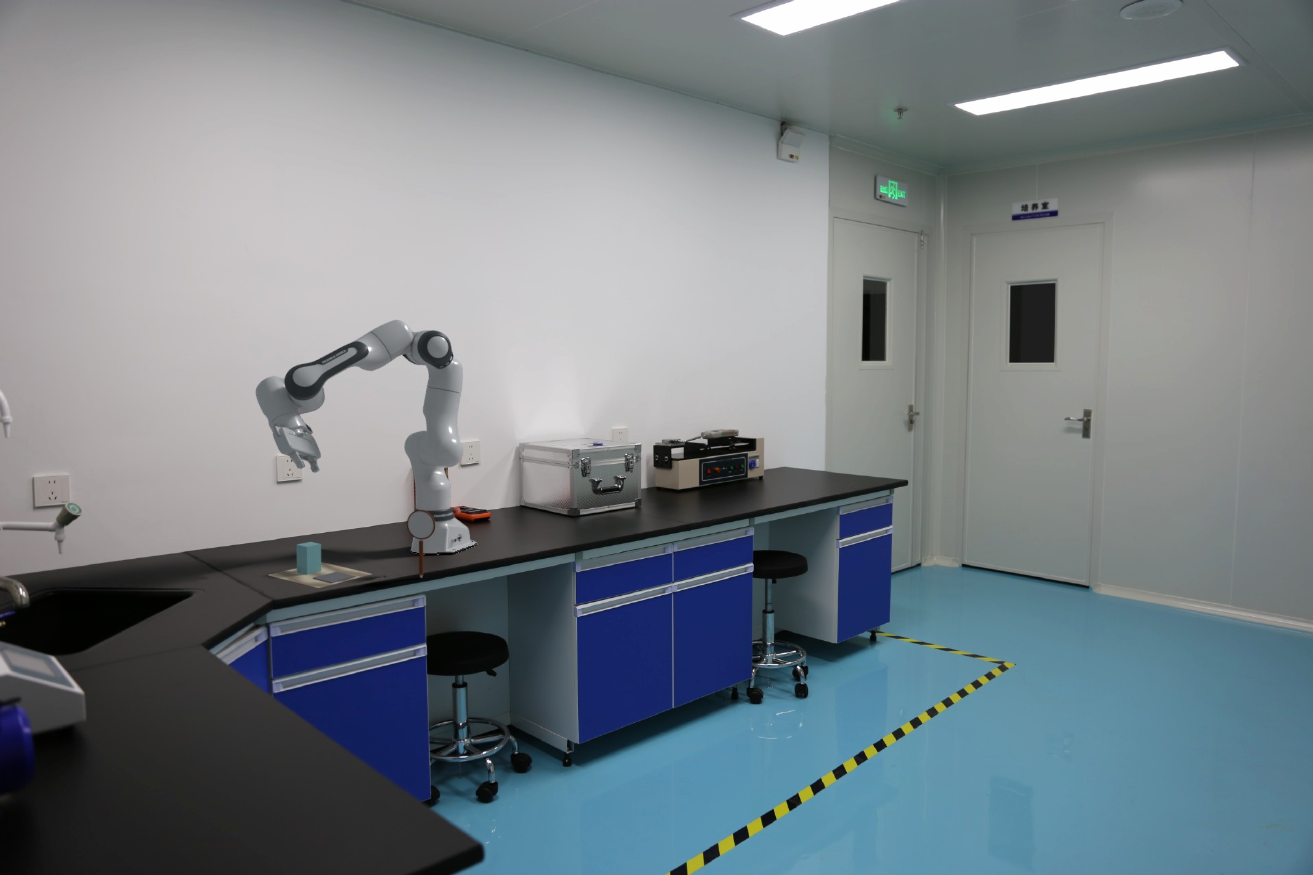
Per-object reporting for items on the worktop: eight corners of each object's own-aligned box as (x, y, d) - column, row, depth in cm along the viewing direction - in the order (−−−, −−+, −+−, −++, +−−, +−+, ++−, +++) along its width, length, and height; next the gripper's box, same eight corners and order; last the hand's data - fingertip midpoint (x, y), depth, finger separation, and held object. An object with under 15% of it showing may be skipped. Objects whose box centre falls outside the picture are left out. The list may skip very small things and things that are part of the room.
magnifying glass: (405, 577, 243) (405, 509, 241) (408, 576, 245) (408, 508, 243) (433, 579, 242) (433, 511, 240) (436, 578, 243) (436, 510, 241)
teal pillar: (310, 568, 244) (310, 541, 243) (321, 571, 242) (320, 543, 241) (296, 572, 240) (296, 544, 239) (307, 574, 238) (306, 546, 237)
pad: (337, 572, 241) (337, 571, 241) (355, 577, 237) (355, 575, 237) (312, 578, 234) (312, 577, 234) (331, 583, 230) (331, 582, 230)
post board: (322, 567, 252) (322, 545, 251) (372, 579, 241) (372, 556, 240) (267, 580, 237) (267, 557, 236) (318, 593, 225) (318, 569, 225)
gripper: (281, 416, 235) (302, 459, 232) (313, 429, 255) (333, 468, 253) (261, 428, 234) (282, 470, 232) (295, 439, 254) (314, 478, 252)
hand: (309, 469), depth 243 cm, fingers open, 8 cm apart
